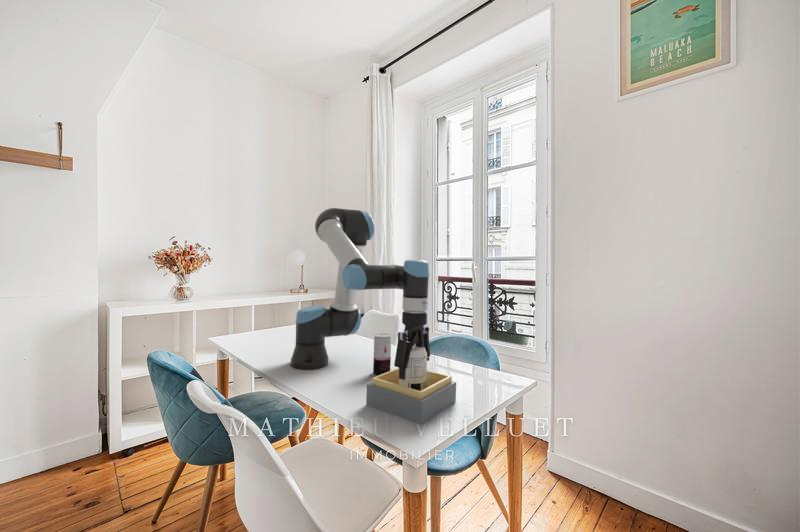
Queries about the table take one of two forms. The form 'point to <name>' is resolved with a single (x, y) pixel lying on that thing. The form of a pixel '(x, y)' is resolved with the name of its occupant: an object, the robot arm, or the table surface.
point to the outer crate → (411, 402)
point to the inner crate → (392, 383)
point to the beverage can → (382, 353)
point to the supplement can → (417, 368)
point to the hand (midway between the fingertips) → (412, 385)
